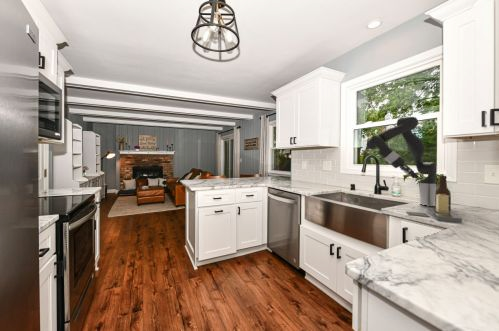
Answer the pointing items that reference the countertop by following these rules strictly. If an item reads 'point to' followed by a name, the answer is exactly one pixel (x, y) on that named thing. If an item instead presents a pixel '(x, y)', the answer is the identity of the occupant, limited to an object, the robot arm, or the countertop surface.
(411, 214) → the rubber mat
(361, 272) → the countertop surface
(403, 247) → the countertop surface
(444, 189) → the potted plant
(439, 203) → the wooden square peg
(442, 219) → the grey slotted plate
